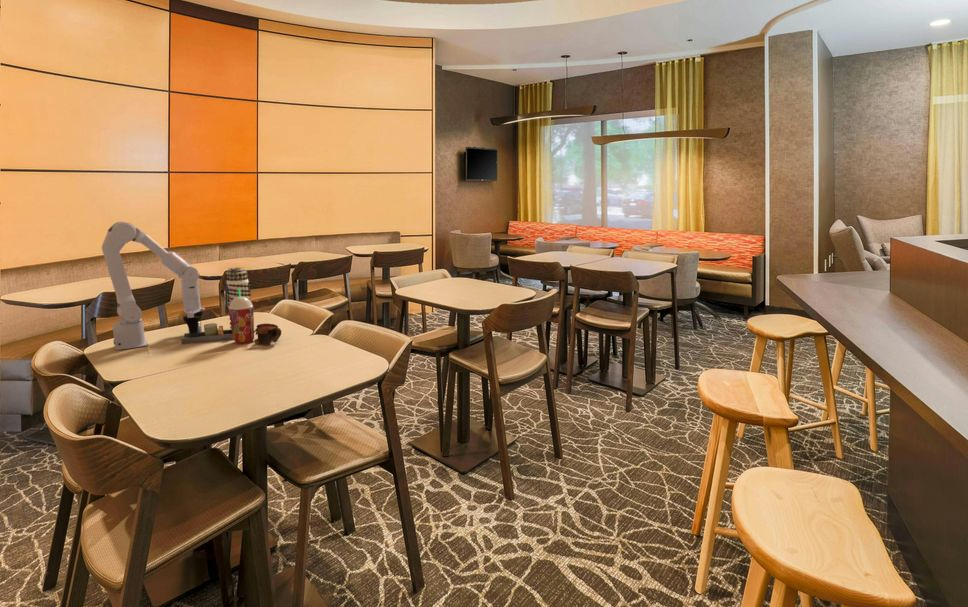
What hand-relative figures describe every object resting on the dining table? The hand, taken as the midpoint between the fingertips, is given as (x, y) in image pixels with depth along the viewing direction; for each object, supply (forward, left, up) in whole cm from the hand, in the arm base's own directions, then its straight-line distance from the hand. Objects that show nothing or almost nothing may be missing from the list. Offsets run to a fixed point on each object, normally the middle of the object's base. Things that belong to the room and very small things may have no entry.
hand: (195, 332), depth 206 cm
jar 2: (+4, -10, -1) cm, 11 cm away
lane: (+3, -10, -1) cm, 11 cm away
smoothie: (+13, -22, -2) cm, 26 cm away
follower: (+7, -11, -1) cm, 13 cm away
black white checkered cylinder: (+17, -1, -2) cm, 17 cm away
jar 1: (0, 0, -2) cm, 2 cm away
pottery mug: (+20, -27, -2) cm, 34 cm away
